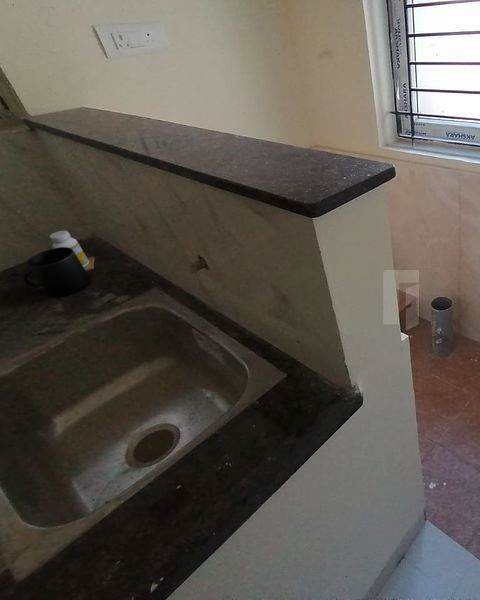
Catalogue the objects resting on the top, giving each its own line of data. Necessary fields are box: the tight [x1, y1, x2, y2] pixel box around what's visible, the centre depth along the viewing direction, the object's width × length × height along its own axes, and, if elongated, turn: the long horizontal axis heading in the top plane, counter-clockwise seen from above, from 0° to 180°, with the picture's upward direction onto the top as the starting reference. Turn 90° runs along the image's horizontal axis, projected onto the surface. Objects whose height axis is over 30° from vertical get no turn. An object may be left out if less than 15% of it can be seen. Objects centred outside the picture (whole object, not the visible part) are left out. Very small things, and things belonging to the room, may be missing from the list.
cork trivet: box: [84, 256, 95, 272], centre depth 107 cm, size 7×7×1 cm
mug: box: [21, 247, 91, 298], centre depth 96 cm, size 9×12×9 cm
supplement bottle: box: [49, 230, 89, 267], centre depth 104 cm, size 5×5×10 cm
